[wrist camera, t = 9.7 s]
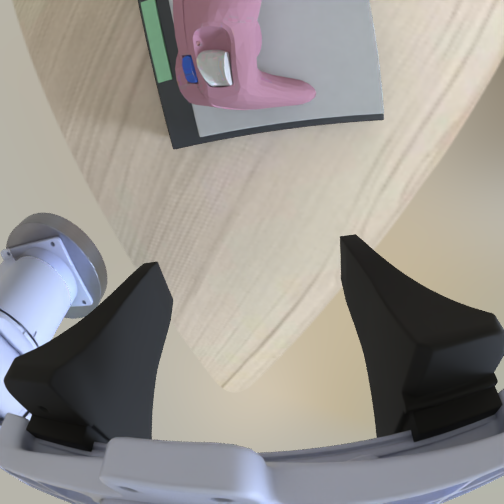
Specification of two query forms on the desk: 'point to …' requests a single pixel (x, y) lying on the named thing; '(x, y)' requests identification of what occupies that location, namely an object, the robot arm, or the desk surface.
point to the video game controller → (228, 58)
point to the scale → (279, 69)
